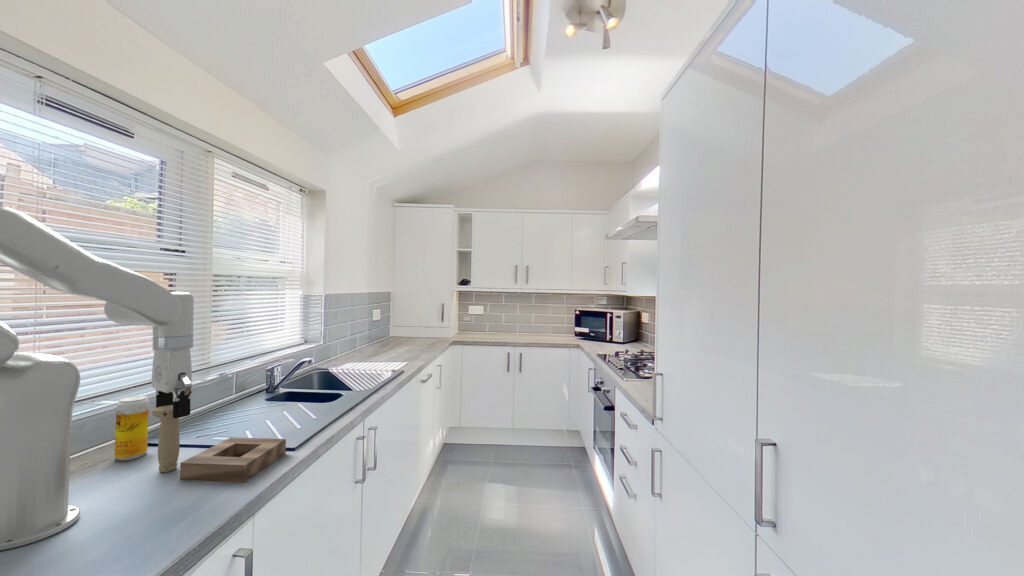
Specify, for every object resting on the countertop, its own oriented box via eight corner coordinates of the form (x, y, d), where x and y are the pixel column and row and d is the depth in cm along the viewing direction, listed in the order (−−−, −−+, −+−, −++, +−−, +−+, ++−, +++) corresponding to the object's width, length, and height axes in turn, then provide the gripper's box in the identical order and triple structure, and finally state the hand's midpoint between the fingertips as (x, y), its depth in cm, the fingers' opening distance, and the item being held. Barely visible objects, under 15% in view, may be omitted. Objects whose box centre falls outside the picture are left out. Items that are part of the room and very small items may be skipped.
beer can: (108, 459, 100) (110, 400, 100) (136, 450, 106) (138, 394, 106) (125, 462, 99) (128, 402, 99) (153, 453, 105) (155, 396, 105)
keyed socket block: (244, 482, 90) (245, 465, 90) (179, 480, 90) (180, 462, 90) (285, 453, 106) (286, 439, 106) (230, 452, 106) (230, 437, 106)
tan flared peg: (179, 472, 94) (181, 409, 94) (145, 476, 92) (148, 411, 92) (188, 464, 99) (190, 404, 99) (157, 467, 97) (159, 405, 97)
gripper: (139, 341, 97) (139, 410, 97) (168, 348, 88) (168, 424, 89) (177, 337, 104) (176, 402, 104) (208, 344, 95) (207, 415, 95)
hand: (172, 412), depth 96 cm, fingers open, 9 cm apart
